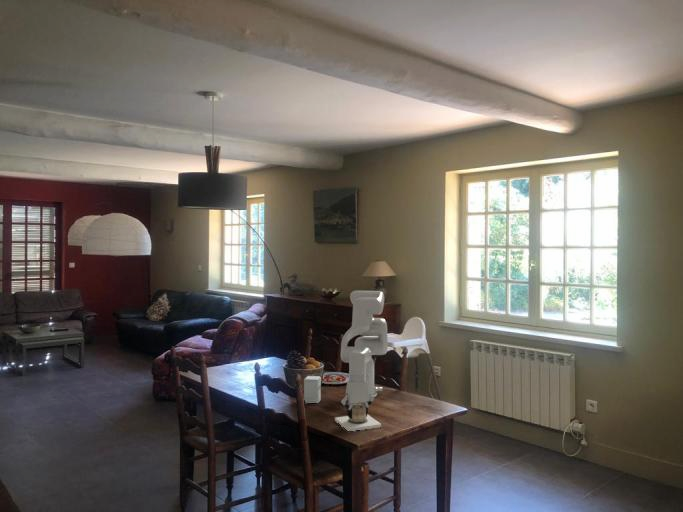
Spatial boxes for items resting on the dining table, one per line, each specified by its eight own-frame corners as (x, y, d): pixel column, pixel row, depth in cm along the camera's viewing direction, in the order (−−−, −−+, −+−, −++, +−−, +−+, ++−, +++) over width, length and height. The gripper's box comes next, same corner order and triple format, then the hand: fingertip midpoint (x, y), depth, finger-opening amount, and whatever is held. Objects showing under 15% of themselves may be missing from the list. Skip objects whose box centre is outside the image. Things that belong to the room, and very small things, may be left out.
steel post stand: (366, 416, 258) (366, 399, 258) (381, 427, 244) (381, 409, 243) (334, 420, 252) (334, 403, 252) (348, 432, 238) (348, 414, 237)
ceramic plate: (315, 375, 338) (315, 370, 338) (356, 376, 335) (356, 371, 335) (308, 386, 313) (308, 381, 312) (353, 387, 310) (353, 382, 310)
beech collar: (361, 416, 253) (361, 403, 252) (367, 420, 246) (367, 407, 246) (347, 418, 250) (347, 405, 250) (353, 422, 243) (353, 409, 243)
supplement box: (317, 404, 278) (317, 379, 277) (303, 403, 279) (303, 379, 279) (321, 400, 285) (321, 376, 285) (307, 399, 287) (307, 375, 286)
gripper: (371, 374, 254) (371, 412, 255) (336, 377, 248) (336, 416, 248) (378, 377, 247) (378, 416, 248) (343, 381, 241) (343, 421, 241)
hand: (357, 416), depth 248 cm, fingers closed on beech collar, 6 cm apart
